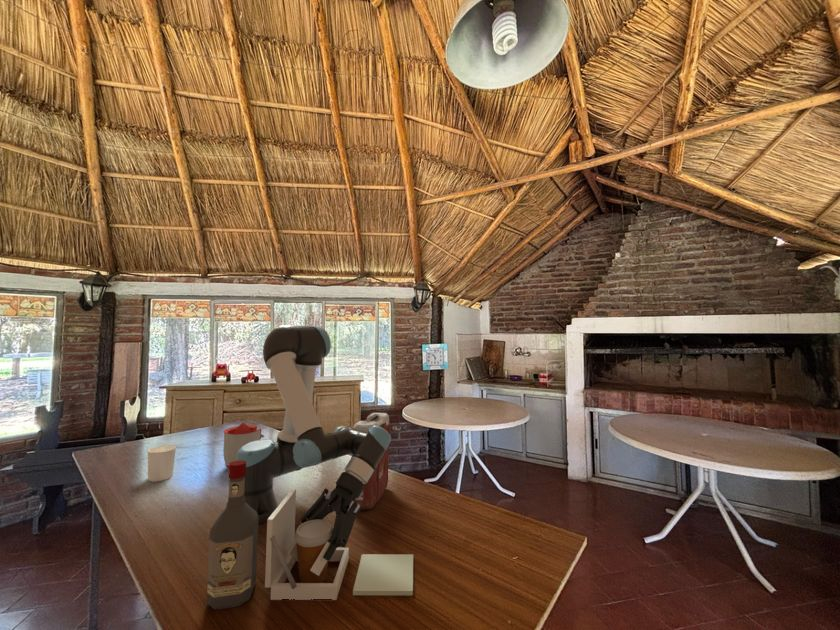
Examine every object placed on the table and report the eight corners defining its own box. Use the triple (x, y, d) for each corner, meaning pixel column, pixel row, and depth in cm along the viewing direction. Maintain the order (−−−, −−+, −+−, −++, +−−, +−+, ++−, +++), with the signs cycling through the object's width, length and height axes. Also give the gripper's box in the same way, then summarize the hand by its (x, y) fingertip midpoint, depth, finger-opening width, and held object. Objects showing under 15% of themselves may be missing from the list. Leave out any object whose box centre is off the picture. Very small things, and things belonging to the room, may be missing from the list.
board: (352, 595, 83) (352, 590, 83) (361, 558, 97) (361, 554, 97) (412, 595, 83) (412, 590, 83) (413, 558, 97) (413, 554, 97)
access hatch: (263, 602, 80) (266, 520, 81) (289, 557, 97) (291, 489, 98) (335, 602, 80) (337, 520, 82) (349, 558, 97) (350, 490, 98)
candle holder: (140, 480, 147) (141, 450, 148) (164, 472, 156) (166, 444, 157) (155, 484, 143) (157, 453, 144) (179, 475, 152) (181, 446, 153)
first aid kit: (371, 514, 121) (373, 424, 123) (348, 511, 122) (350, 423, 124) (390, 486, 143) (391, 411, 145) (370, 484, 145) (372, 410, 147)
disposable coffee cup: (298, 566, 93) (299, 519, 94) (335, 564, 94) (336, 517, 95) (287, 592, 84) (289, 539, 84) (329, 590, 84) (330, 538, 85)
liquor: (216, 584, 86) (222, 457, 88) (257, 579, 88) (262, 455, 90) (203, 613, 77) (209, 471, 79) (248, 606, 79) (254, 468, 81)
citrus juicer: (268, 466, 164) (270, 422, 166) (228, 476, 152) (230, 428, 154) (256, 457, 176) (258, 416, 177) (217, 466, 163) (219, 422, 165)
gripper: (388, 496, 95) (339, 590, 81) (337, 475, 109) (287, 553, 95) (374, 481, 91) (320, 578, 78) (323, 461, 105) (269, 541, 92)
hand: (302, 564), depth 87 cm, fingers closed on disposable coffee cup, 9 cm apart
